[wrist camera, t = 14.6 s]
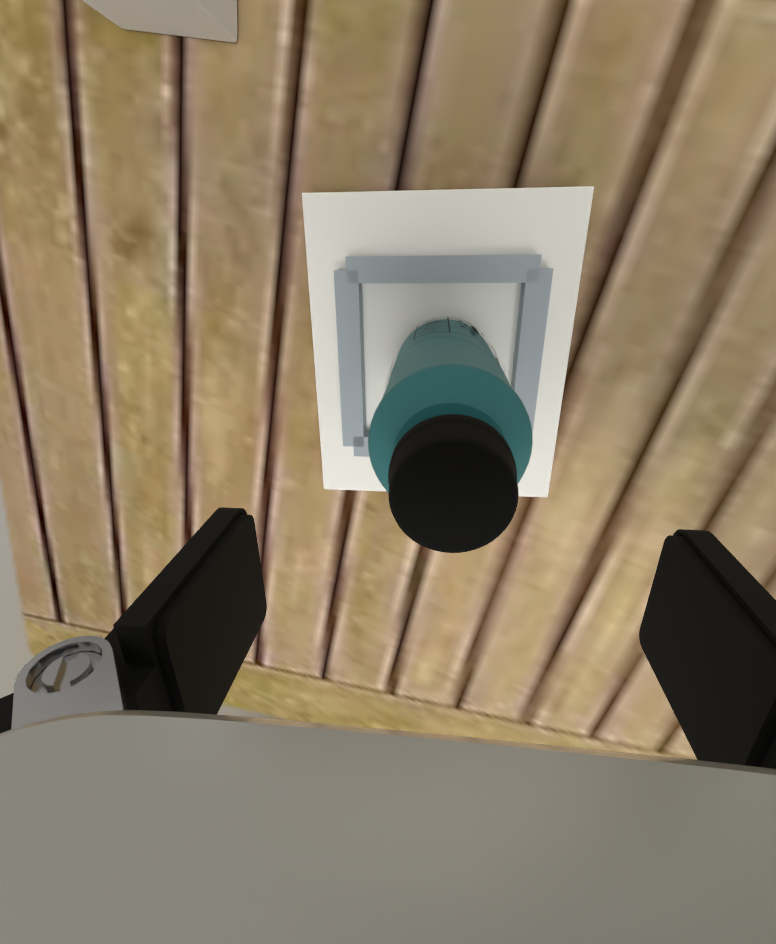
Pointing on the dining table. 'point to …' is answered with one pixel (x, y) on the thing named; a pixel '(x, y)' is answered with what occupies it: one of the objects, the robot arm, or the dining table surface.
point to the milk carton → (173, 17)
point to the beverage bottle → (450, 439)
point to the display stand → (440, 301)
